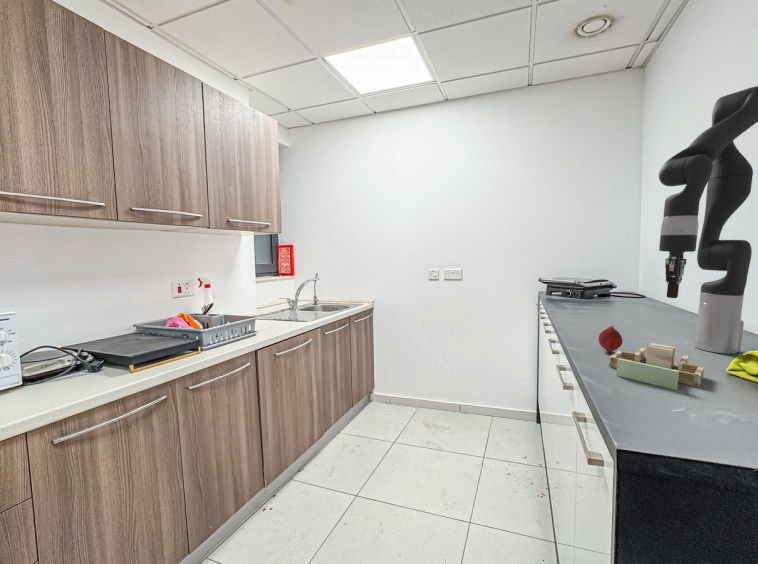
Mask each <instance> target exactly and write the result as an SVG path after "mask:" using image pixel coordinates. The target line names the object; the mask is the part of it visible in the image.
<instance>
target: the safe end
mask: <svg viewBox="0 0 758 564" xmlns="http://www.w3.org/2000/svg"><path fill="white" fill-rule="evenodd" d="M615 373H616V374H615V375H616V376H617V377H622V378H626V379H628V380H634V381H637V382H642V383H646V384H650V385H654V386H658V387H661V388H667V389H670V390H675V391H678V387H679V386H678V385H679V382H678V378H679V371H678V369H673V368H671V369H668V368H663V367H658V366H654V365H649V364H646V363H643V362H634V361H629V360H625V359H620V358H618V360H617V368H616V372H615Z"/></svg>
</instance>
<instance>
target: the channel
mask: <svg viewBox="0 0 758 564" xmlns="http://www.w3.org/2000/svg"><path fill="white" fill-rule="evenodd" d="M646 352H647V348H644V347H641V348H639V349H638V350H637V351H635V352H629V351H625V350H618V351H616V352H614V353H613V354H611V355H610V356H609V358H608V368H613V369H617V360H618V358H620V359H625V360H629V361H634V362H639V363H641V362H642V361H643V360H644V359H646ZM643 358H644V359H643ZM642 359H643V360H642ZM641 360H642V361H641ZM689 360H690V359H689V356H688V355H683V356H682V357H681V358H680V360H679V362H678V363H677V364H678V366H677V370H678V371H679V378H678V384H684V385H689V386H693V387H697V388H699V387H700V386H701V382H702V381H703V378H704V371H705V367H704V366H701V365H696V364H691V363H689ZM640 361H641V362H640Z"/></svg>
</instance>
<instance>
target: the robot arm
mask: <svg viewBox="0 0 758 564" xmlns="http://www.w3.org/2000/svg"><path fill="white" fill-rule="evenodd" d="M757 123H758V85H756V86H752V87H748V88H746V89H742V90H739V91H737V92H732V93H730V94H726V95H723V96H721V97H720V98H718V99H717V100H716V101H715V103H714V105H713V108H712V114H711V127H709V128H708V129H706V130H704V131H703V132H702V133H700V134H699V135H697V137H696V138H695V139H694V140H693V141H692V142H691V143H690V144H689V146H687V147H686V148H685V149H682V150H680V151H679V152H677V153H676V154H675V155H673V156H671V157H670V158H668V160H666V161H665V162H664V163H663V164H662V165H661V167H660V169H659V172H658V179H659V182H660V183H661V185H663V186H666V187H679V186H684V188H683V189H682V190H681V191H680V192H678V193H674V194H671V195H669V196H667V197H666V198H665V201H664V207H663V215H662V216H663V217H662V218H663V219H662V222H661V226H660V227H661V228H660V235H659V236H660V237H659V247H658V250H659V251H660V252H668V253H669V254H668V257H667V258H665V262H664V267H665V273H664V274H665V282H666V284H667V289H666V297H667V298H668V299H677V298H678V297H679V288H680V284H681V283H682V281H683V278H682V277H683V276H684V274H685V266H686V265H687V258H684V253H687V252H689V253H694V252H695V251H696V249H697V255H696V260H697V261H696V262H697V265H698V267H699V269H701V270H703V271H716V272H717V271H718V272H719V271H720V272H726V274H725V276H723V277H721V278H719V279H716V280H712V281H708V282H703V283H702V284H701V286H700V295H699V302H698V303H699V305H698V311H697V320H696V321H697V322H696V330H695V340H694V347H695V348H696V349H699V350H703V351H706V352H707V351H708V352H710V353H711V352H713V353H719V354H729V355H731V354H732V355H734V354H735V355H736V354H737V352H740V353H741V350H742V349H741V348H742V339H743V334H744V333H743V332H744V323H745V322H744V321H743V320H741V319H742V311H743V303H744V295H745V289H746V286H747V281H748V275H749V269H750V264H751V259H752V251H753V249H752V246H751V243H750V242H749V241H748V240H745V239H720V237H721V232H722V230H723V228H724V226H725V224H726V223H727V221H728V220H729V219H730V217H732V215H733V214H734V213H735V212H736V211H738V209H740V207H741V206H742V205H743V204H744V203H745V202H746V200H747V199H748V198H749V196H750V194H751V191H752V183H753V176H754V169H753V166H752V165H751V163H750V162H749V161H748V159H747V158H746V157H745V156H744V155H743V154H742V152H740V151H739V149H738V148H737V146H736V144H735V143H734V140H735V139H737V138H739V137H740V135H742V134H743V133H744V132H746V131H748V130H749V129H750V128H751V127H753V126H754V125H756V124H757ZM705 188H706V198H705V199H706V200H705V208H704V209H705V211H704V217H703V218H704V219H703V222H702V223H703V224H702V229H701V233H700V238H699V243H698V248H697V240H698V232H699V231H698V230H699V211H700V201H701V198H702V196H703V193H704V191H705Z"/></svg>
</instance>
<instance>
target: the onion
mask: <svg viewBox="0 0 758 564" xmlns="http://www.w3.org/2000/svg"><path fill="white" fill-rule="evenodd" d="M598 343H599V346H601V347H602V348H603V349H604V350H605V351H606V352H608V353H612V352H614V351H616V350H618V349H619V348H620V347H621V346H622V344H623V336H622V335H621V333H620V332H619V331H618V330H617V329H616V328H615V327H614V325H612V324H610V325H609V326H608V327H607V328H606V329H603V330H602V331H601V332H600V334H599V335H598Z"/></svg>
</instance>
